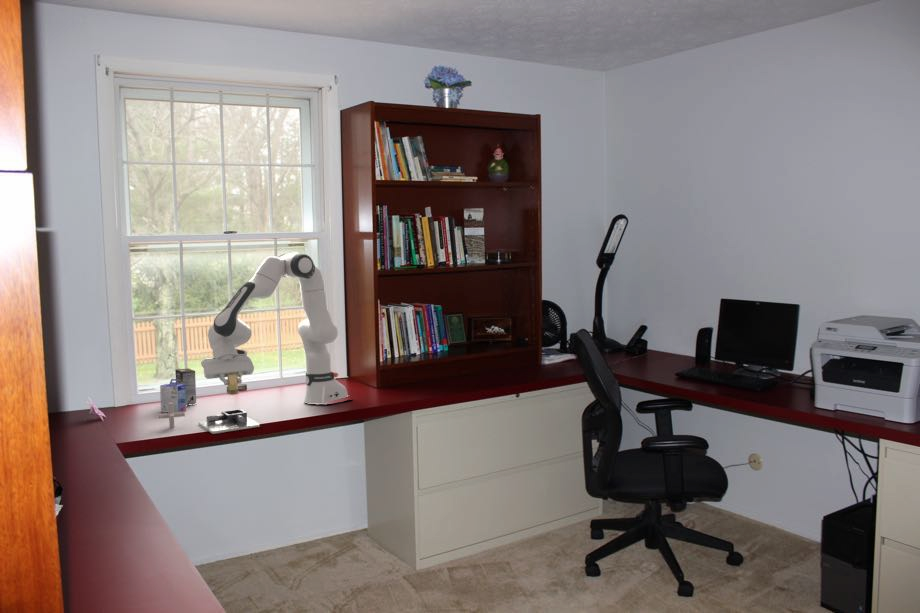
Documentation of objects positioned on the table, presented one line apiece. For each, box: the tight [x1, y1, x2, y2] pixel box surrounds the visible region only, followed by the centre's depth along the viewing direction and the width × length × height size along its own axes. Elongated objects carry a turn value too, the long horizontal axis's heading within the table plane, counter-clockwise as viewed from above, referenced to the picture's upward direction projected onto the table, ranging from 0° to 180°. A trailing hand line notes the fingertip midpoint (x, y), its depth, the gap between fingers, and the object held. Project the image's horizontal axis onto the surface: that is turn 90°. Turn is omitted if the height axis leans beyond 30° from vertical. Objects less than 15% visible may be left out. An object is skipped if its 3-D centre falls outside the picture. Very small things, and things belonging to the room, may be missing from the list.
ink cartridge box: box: [159, 378, 187, 413], centre depth 328 cm, size 10×6×14 cm, turn 71°
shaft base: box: [197, 408, 261, 435], centre depth 302 cm, size 19×19×4 cm
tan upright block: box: [227, 374, 239, 396], centre depth 306 cm, size 4×4×8 cm
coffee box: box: [174, 368, 197, 405], centre depth 344 cm, size 9×6×16 cm
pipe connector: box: [157, 403, 186, 429], centre depth 300 cm, size 10×10×10 cm
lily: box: [84, 396, 107, 421], centre depth 314 cm, size 12×12×10 cm
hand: (233, 383), depth 305 cm, fingers closed on tan upright block, 4 cm apart
